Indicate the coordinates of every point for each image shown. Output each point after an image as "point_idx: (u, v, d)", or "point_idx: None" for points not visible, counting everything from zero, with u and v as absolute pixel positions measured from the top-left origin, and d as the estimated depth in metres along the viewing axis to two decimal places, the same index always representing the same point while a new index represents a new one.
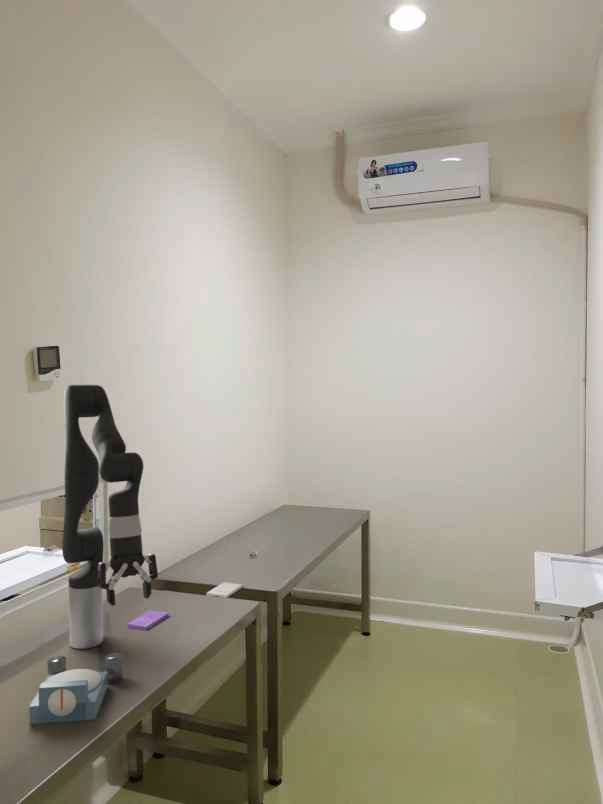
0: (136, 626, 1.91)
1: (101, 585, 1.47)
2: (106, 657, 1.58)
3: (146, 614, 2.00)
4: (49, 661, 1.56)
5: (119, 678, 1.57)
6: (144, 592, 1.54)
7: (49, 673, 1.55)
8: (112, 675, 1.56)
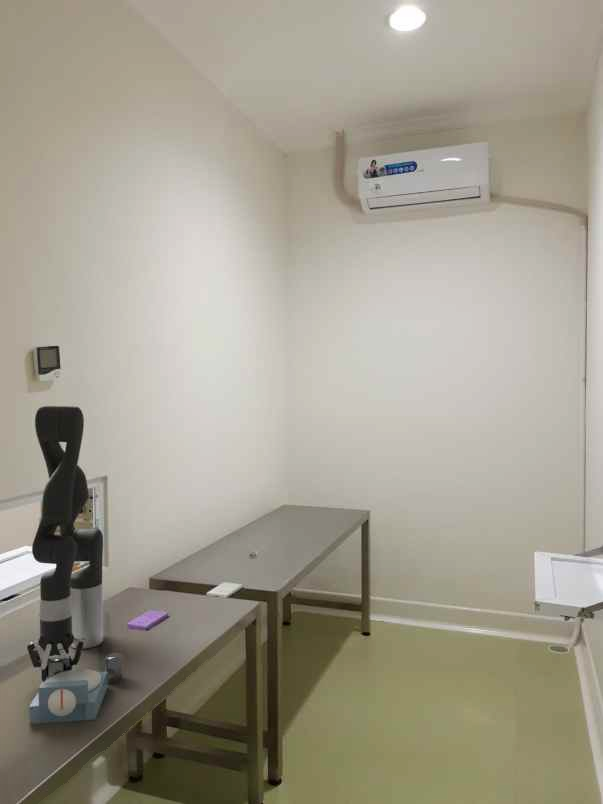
0: (136, 626, 1.92)
1: (34, 664, 1.55)
2: (106, 657, 1.58)
3: (146, 614, 2.01)
4: (49, 661, 1.56)
5: (119, 678, 1.57)
6: None
7: (49, 673, 1.55)
8: (112, 675, 1.56)
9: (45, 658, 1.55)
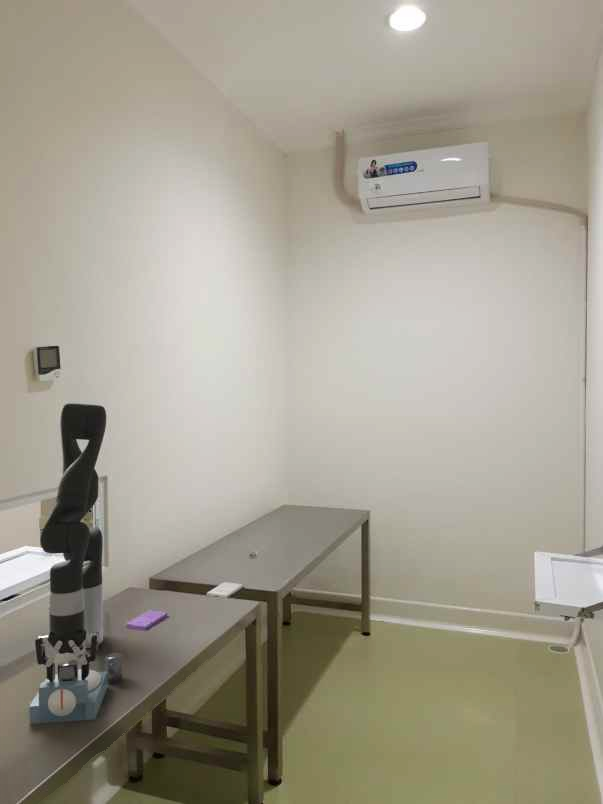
0: (135, 626, 1.92)
1: (38, 660, 1.42)
2: (106, 657, 1.58)
3: (145, 614, 2.01)
4: (59, 665, 1.43)
5: (119, 678, 1.57)
6: None
7: (60, 678, 1.42)
8: (112, 675, 1.56)
9: (52, 655, 1.42)
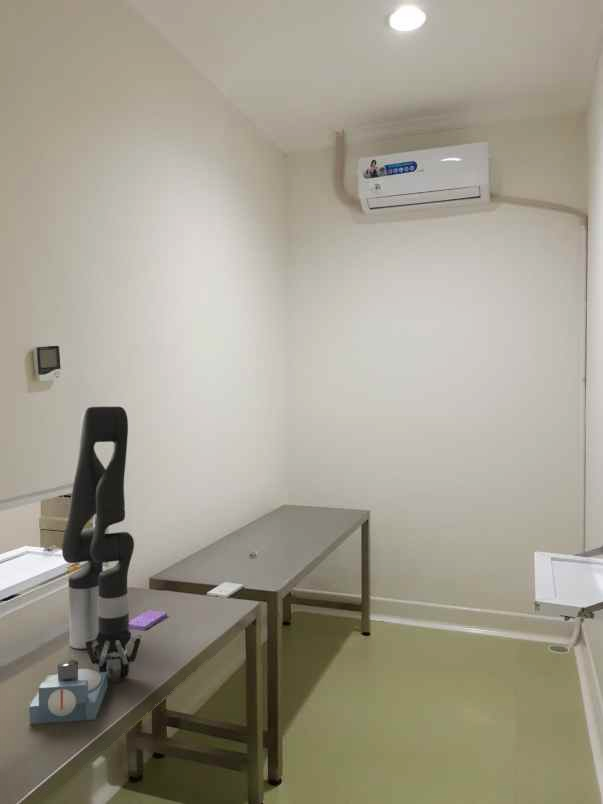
0: (134, 626, 1.92)
1: (92, 660, 1.57)
2: (106, 657, 1.58)
3: (144, 614, 2.01)
4: (59, 665, 1.43)
5: (119, 678, 1.57)
6: None
7: (60, 678, 1.42)
8: (112, 675, 1.56)
9: (103, 655, 1.57)
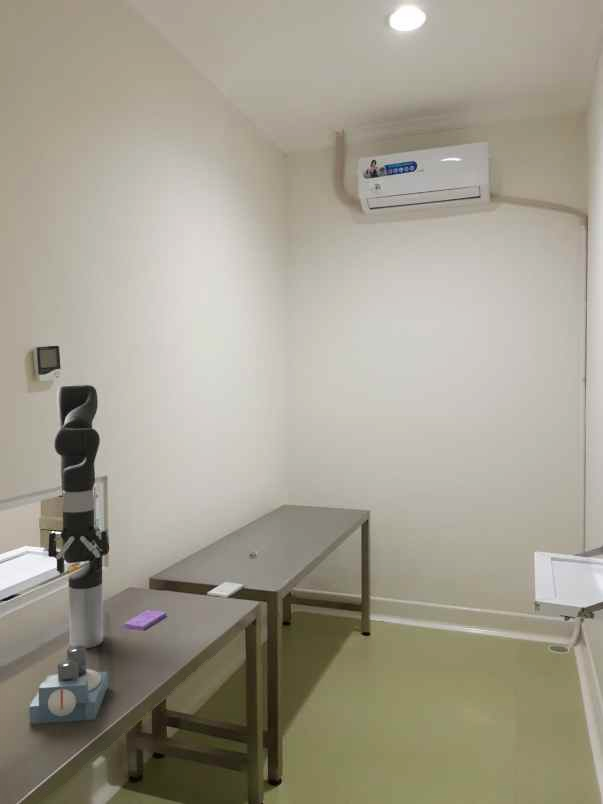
0: (133, 626, 1.92)
1: (49, 553, 1.54)
2: (68, 650, 1.51)
3: (143, 614, 2.01)
4: (60, 665, 1.43)
5: (81, 672, 1.51)
6: None
7: (60, 678, 1.42)
8: None
9: (63, 549, 1.54)
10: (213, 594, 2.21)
